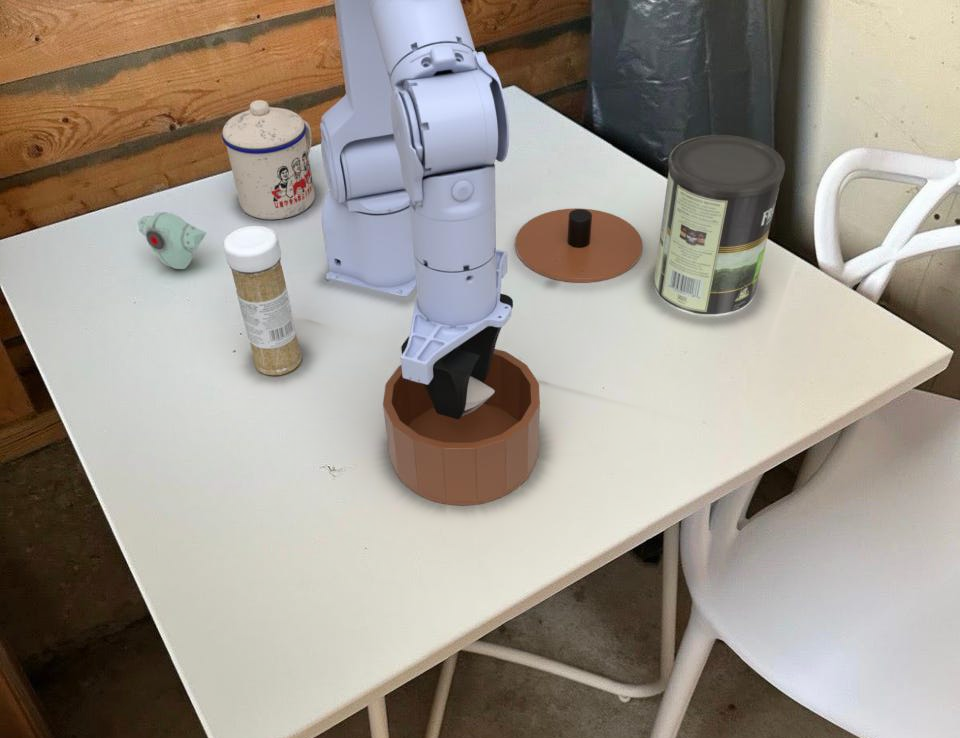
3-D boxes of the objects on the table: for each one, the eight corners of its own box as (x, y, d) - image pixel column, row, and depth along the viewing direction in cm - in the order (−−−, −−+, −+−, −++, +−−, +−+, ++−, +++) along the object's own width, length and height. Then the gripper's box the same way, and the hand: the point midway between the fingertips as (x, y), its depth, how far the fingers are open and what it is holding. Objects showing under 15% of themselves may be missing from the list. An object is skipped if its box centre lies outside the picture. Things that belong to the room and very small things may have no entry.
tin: (365, 479, 76) (355, 422, 72) (430, 387, 84) (425, 330, 80) (503, 523, 73) (503, 466, 68) (558, 422, 81) (561, 365, 76)
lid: (496, 270, 97) (495, 235, 94) (541, 207, 105) (542, 172, 102) (619, 299, 93) (623, 263, 90) (656, 231, 101) (661, 195, 98)
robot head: (221, 268, 98) (206, 211, 93) (197, 289, 95) (180, 232, 91) (160, 251, 100) (142, 195, 96) (135, 271, 98) (116, 215, 93)
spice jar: (293, 341, 89) (268, 218, 79) (309, 368, 86) (284, 244, 77) (247, 355, 88) (215, 231, 78) (261, 383, 85) (230, 259, 75)
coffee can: (754, 265, 96) (784, 137, 86) (754, 326, 89) (787, 194, 79) (655, 256, 98) (672, 129, 88) (647, 314, 91) (665, 184, 81)
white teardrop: (432, 389, 77) (430, 366, 75) (492, 385, 77) (491, 361, 75) (435, 426, 74) (433, 402, 72) (497, 421, 74) (497, 397, 72)
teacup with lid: (286, 229, 103) (266, 130, 94) (221, 210, 106) (197, 112, 98) (346, 180, 110) (333, 83, 102) (284, 163, 113) (266, 68, 105)
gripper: (464, 322, 58) (470, 469, 68) (545, 208, 68) (540, 353, 77) (366, 297, 60) (385, 444, 70) (457, 190, 70) (463, 333, 79)
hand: (461, 395), depth 74 cm, fingers closed on white teardrop, 4 cm apart
